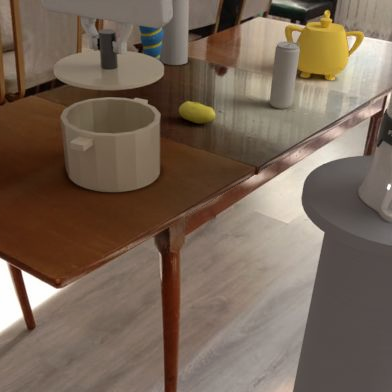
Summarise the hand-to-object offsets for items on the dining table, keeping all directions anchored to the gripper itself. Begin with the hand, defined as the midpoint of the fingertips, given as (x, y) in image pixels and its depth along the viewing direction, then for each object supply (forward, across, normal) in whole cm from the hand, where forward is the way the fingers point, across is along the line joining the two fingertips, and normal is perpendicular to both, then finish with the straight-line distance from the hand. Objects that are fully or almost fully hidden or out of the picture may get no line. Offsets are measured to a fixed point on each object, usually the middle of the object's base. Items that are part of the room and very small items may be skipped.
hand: (108, 51), depth 94 cm
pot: (+19, 0, 0) cm, 19 cm away
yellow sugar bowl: (+20, -17, -69) cm, 74 cm away
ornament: (+19, +14, -42) cm, 48 cm away
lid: (+3, 0, 0) cm, 3 cm away
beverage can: (+20, -16, -43) cm, 50 cm away
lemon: (+19, -4, -26) cm, 33 cm away
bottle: (+19, +16, -58) cm, 63 cm away
